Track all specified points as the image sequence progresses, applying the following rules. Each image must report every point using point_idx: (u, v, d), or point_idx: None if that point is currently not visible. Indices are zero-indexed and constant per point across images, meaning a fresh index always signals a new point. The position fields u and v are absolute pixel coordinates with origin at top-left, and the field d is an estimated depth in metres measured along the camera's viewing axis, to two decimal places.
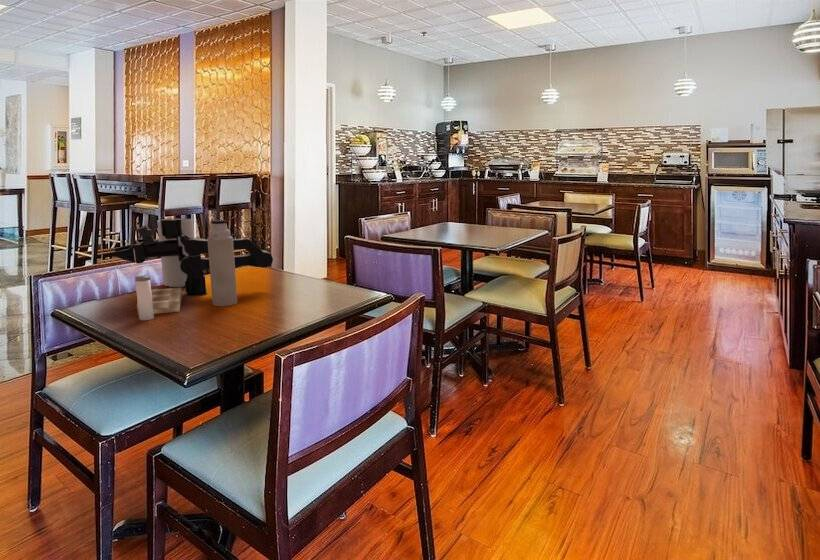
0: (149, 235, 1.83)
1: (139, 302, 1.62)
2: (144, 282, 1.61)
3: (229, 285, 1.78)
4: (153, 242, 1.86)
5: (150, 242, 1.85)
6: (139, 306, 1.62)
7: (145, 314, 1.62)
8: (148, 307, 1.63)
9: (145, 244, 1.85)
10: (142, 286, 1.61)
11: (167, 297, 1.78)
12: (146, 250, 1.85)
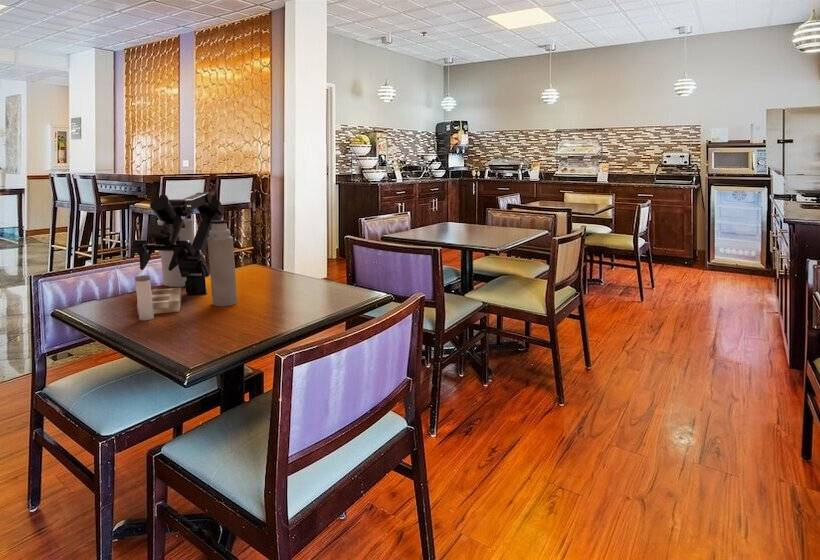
0: (172, 228, 1.71)
1: (139, 302, 1.62)
2: (144, 282, 1.61)
3: (229, 285, 1.78)
4: None
5: None
6: (139, 306, 1.62)
7: (145, 314, 1.62)
8: (148, 307, 1.63)
9: (170, 239, 1.73)
10: (142, 286, 1.61)
11: (167, 297, 1.78)
12: (173, 242, 1.74)
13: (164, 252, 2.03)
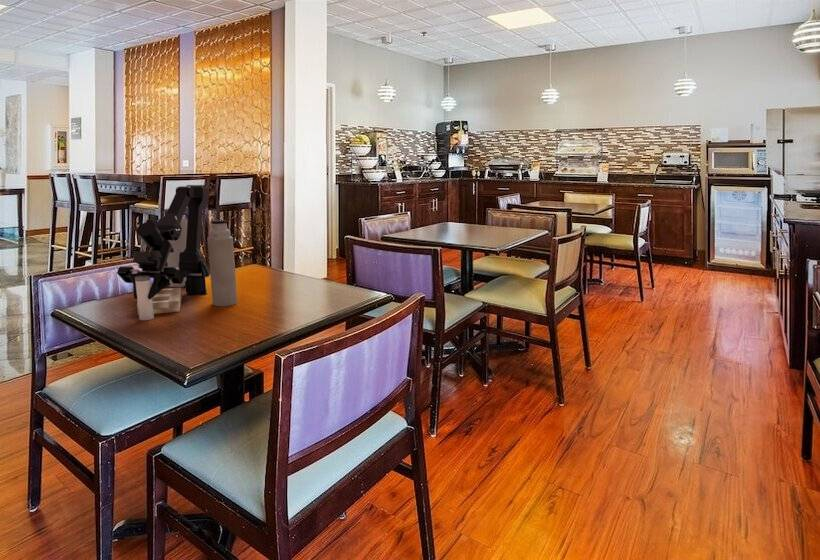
0: (159, 255, 1.64)
1: (139, 302, 1.62)
2: (144, 282, 1.61)
3: (229, 285, 1.78)
4: None
5: (158, 260, 1.66)
6: (139, 306, 1.62)
7: (145, 314, 1.62)
8: (148, 307, 1.63)
9: (158, 265, 1.65)
10: (142, 286, 1.61)
11: (167, 297, 1.78)
12: (161, 269, 1.67)
13: None
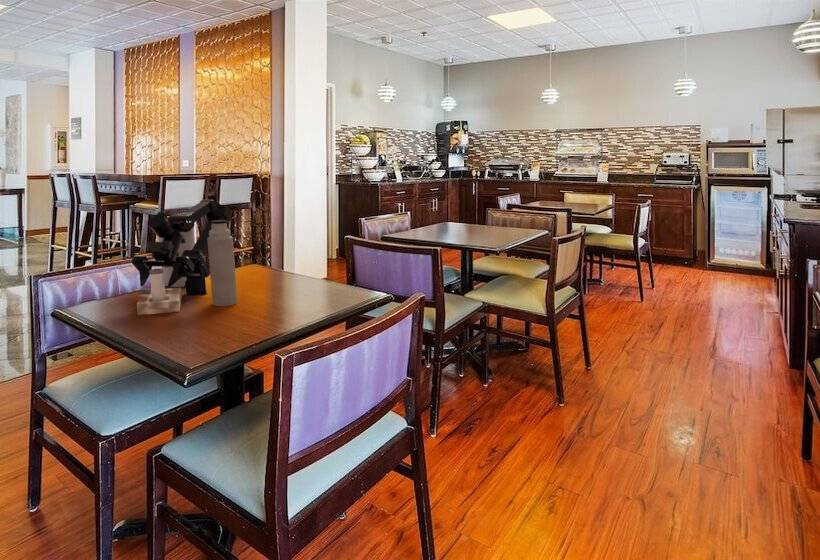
0: (171, 245, 1.73)
1: (153, 294, 1.72)
2: (157, 275, 1.71)
3: (229, 285, 1.78)
4: None
5: None
6: (153, 298, 1.72)
7: None
8: (161, 299, 1.73)
9: (170, 255, 1.75)
10: (156, 279, 1.71)
11: (167, 297, 1.78)
12: (173, 258, 1.77)
13: None
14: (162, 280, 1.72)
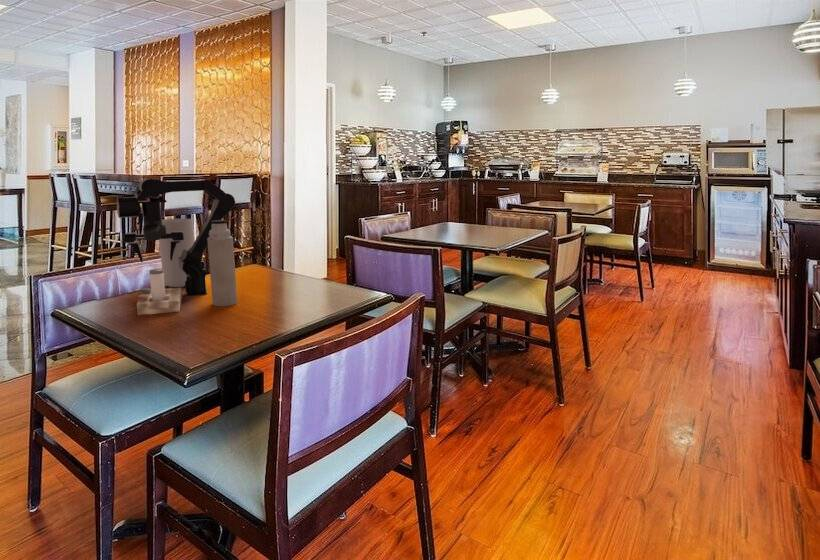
0: (165, 227, 1.81)
1: (153, 294, 1.72)
2: (157, 275, 1.71)
3: (229, 285, 1.78)
4: (160, 224, 1.83)
5: None
6: (153, 298, 1.72)
7: None
8: (161, 299, 1.73)
9: None
10: (156, 279, 1.71)
11: (167, 297, 1.78)
12: None
13: (164, 252, 2.03)
14: (162, 280, 1.72)
